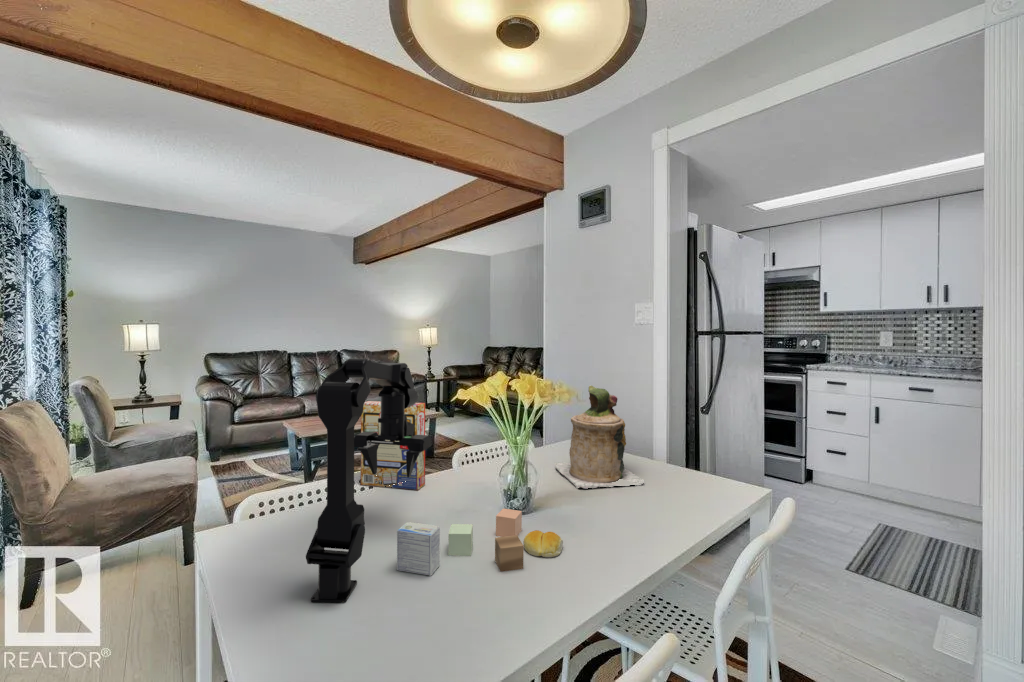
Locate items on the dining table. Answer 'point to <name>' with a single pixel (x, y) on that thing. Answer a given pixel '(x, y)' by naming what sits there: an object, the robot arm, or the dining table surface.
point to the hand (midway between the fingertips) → (391, 475)
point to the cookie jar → (597, 445)
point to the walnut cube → (509, 553)
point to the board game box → (393, 451)
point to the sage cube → (460, 540)
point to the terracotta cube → (508, 523)
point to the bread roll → (543, 544)
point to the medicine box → (418, 548)
